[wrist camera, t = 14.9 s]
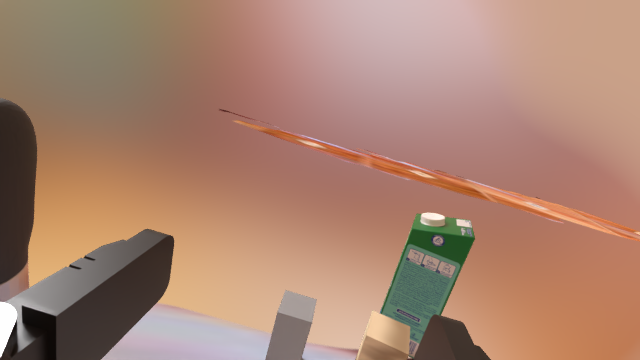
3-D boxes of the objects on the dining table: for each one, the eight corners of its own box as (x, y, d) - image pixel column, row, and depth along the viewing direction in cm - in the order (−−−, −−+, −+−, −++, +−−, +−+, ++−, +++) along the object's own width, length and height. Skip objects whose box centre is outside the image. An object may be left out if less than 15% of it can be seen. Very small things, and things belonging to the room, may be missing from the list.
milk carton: (380, 309, 64) (421, 201, 57) (423, 330, 61) (471, 219, 54) (371, 337, 55) (416, 215, 48) (420, 362, 52) (475, 237, 45)
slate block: (261, 373, 43) (277, 312, 40) (271, 347, 48) (285, 290, 45) (293, 383, 43) (312, 322, 40) (299, 356, 48) (316, 299, 45)
